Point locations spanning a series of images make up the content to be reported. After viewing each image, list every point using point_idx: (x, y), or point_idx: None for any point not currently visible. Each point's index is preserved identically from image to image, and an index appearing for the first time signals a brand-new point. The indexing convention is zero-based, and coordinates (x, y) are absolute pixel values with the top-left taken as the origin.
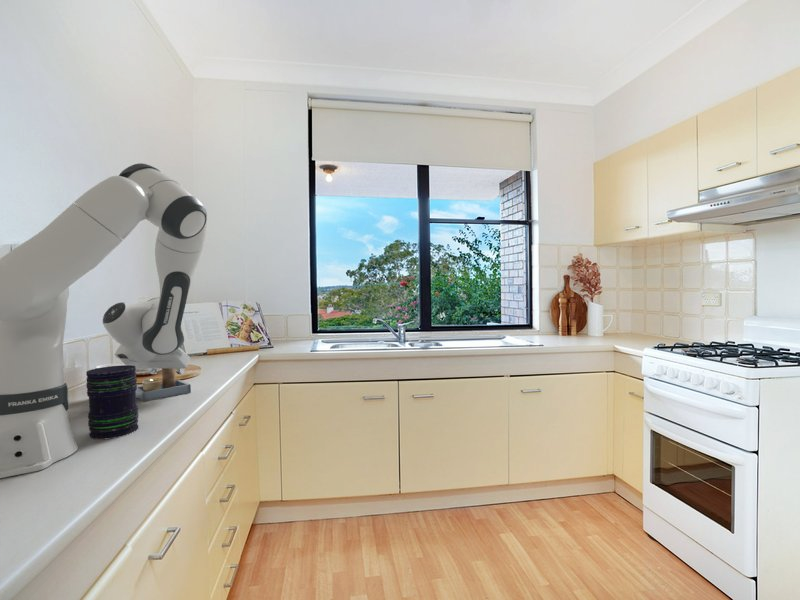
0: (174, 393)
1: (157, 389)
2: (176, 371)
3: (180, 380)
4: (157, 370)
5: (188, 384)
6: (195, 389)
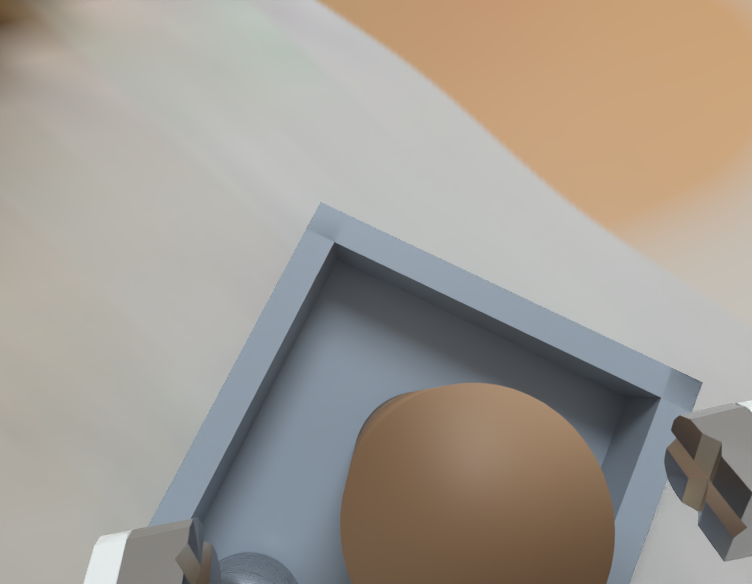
0: None
1: None
2: (736, 554)
3: (364, 227)
4: (199, 536)
5: (674, 386)
6: (574, 257)
